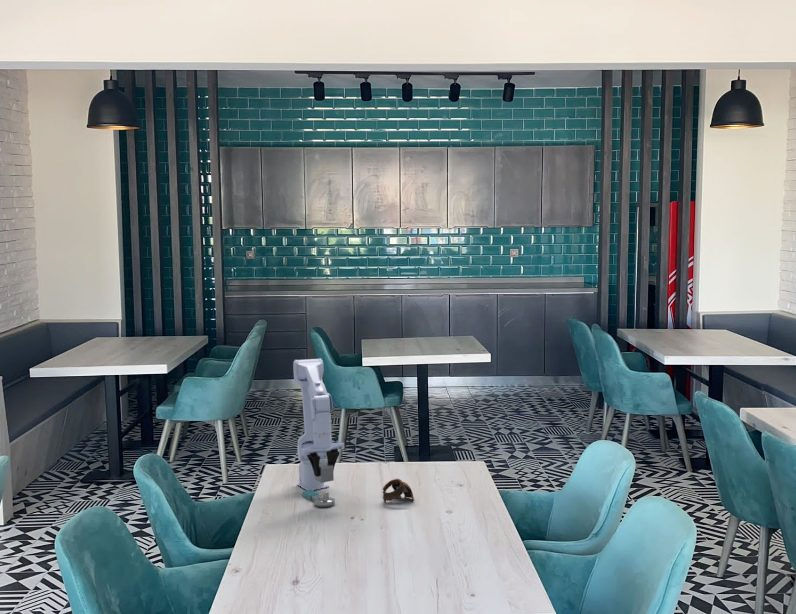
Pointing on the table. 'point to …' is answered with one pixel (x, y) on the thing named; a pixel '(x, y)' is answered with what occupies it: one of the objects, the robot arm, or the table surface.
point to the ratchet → (320, 498)
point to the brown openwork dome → (397, 490)
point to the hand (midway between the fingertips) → (323, 474)
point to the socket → (325, 472)
